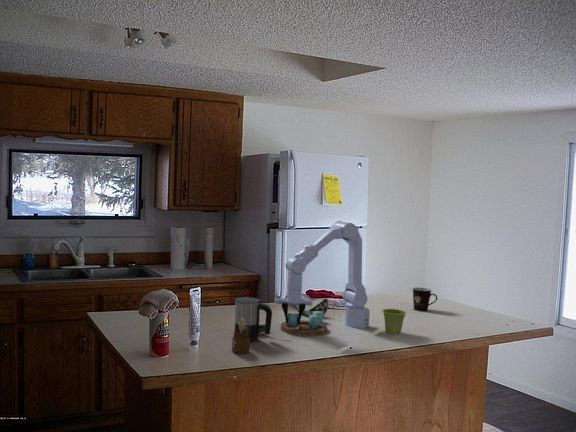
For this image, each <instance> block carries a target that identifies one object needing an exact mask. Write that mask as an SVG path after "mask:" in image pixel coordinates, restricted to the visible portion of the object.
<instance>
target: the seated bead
mask: <svg viewBox="0 0 576 432" xmlns="http://www.w3.org/2000/svg"><path fill="white" fill-rule="evenodd" d="M308 321H309V329H310V330H318V329H319V316H317V315H310V316H308Z"/></svg>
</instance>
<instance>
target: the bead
mask: <svg viewBox="0 0 576 432" xmlns="http://www.w3.org/2000/svg"><path fill="white" fill-rule="evenodd" d="M298 315H299V313H298V312H288V323H287V327H290V328H297V327H298Z"/></svg>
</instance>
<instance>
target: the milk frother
mask: <svg viewBox="0 0 576 432" xmlns="http://www.w3.org/2000/svg"><path fill="white" fill-rule="evenodd" d="M260 301H261V300H260V299H259V298H255V297H237V298H234V302H235V307H234V309H235V312H234V313H235V314H234V331H235V330H240V329H241V328H240V329H239V319H240V320H241V319H244V320H246V321H244V326H246V327H244V328H242V330H244V329H245V330H247V331H248V332H249V339H250V343H253V342H257V341H258V340H259V335H260V333H263V332H264V334H265V335H269V334H270V333H271V328H272V319H273V317H272V316H273V311H272V308H271V307H270V306H269V305H268V304H266V303H259V302H260ZM260 310H262V311H264V312H265V314H266V315H265V324H260ZM242 323H243V321H242ZM240 325H241V321H240Z"/></svg>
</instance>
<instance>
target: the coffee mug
mask: <svg viewBox="0 0 576 432" xmlns="http://www.w3.org/2000/svg"><path fill="white" fill-rule="evenodd" d="M431 296H434V297H435V300H434V301H433V302H431V303H430V298H431ZM412 298H413V299H412V300H413V311H416V312H428V310H429V306H431V305H433V304H435V303H436V302H437V301H438V296H437V294H436V293H432V289H431V288H427V287H417V286H416V287H413V288H412Z"/></svg>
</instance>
